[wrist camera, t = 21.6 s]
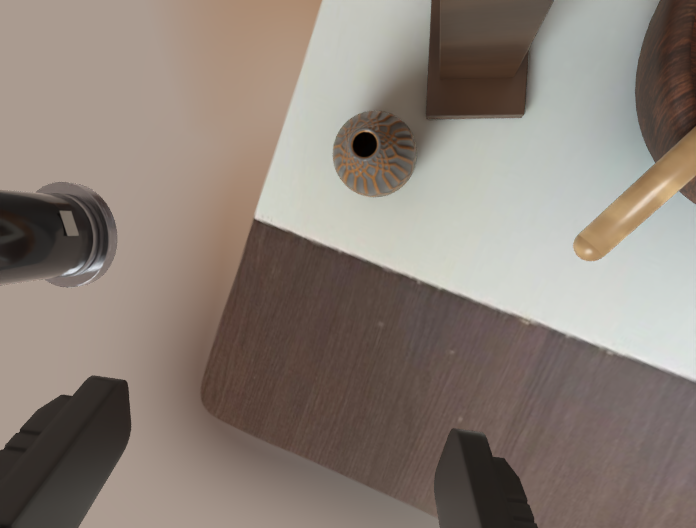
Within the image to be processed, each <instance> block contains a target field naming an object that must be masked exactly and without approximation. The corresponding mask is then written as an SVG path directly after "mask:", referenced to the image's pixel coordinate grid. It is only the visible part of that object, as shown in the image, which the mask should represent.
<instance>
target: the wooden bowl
mask: <svg viewBox="0 0 696 528" xmlns="http://www.w3.org/2000/svg"><path fill="white" fill-rule="evenodd" d="M635 97H636V110H637V116H638V122H639V125H640V129H641V132H642V136H643V138H644V141H645V143H646V146H647V148H648V150H649V152H650V154H651V156H652V158H653V159H654V161H655V163H656V162H657V161H658V160H659V159H661V158H662V157H663V156H664V155H665V154H666V153H667V152H668V151H669V150H670V149H671V148H672V147H674V146H675V145H676V144H677V143H678V142H679V141H680V140H681V139H682V138H683V137H684V136H685V135H687V134H688V133H689V132H690V131H691V130H692V129H693V128H694V127H695V126H696V0H660V2H659V4H658V7H657V9H656V11H655V13H654V15H653V17H652V19H651V21H650V24H649V27H648V29H647V32H646V35H645V38H644V41H643V45H642V49H641V53H640V57H639V61H638V67H637V74H636V87H635ZM679 191H680V192H681V193H682V194H683V195H684V196H685V197H687V198H688V199H689V200H691V201H692V202H693V203H695V204H696V176H695V177H694V178H693V179H691V180H690V181H689V182H688V183H687V184H686V185H685V186H683V187H682V188H681V189H680V190H679Z"/></svg>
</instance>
